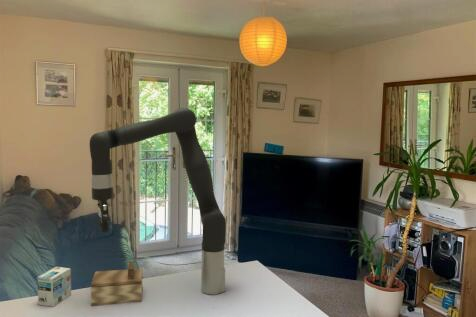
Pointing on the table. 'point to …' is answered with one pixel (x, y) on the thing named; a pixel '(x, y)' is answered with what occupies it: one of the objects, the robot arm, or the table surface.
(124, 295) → the wooden box
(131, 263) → the lid
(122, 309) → the table surface
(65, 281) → the light bulb box
